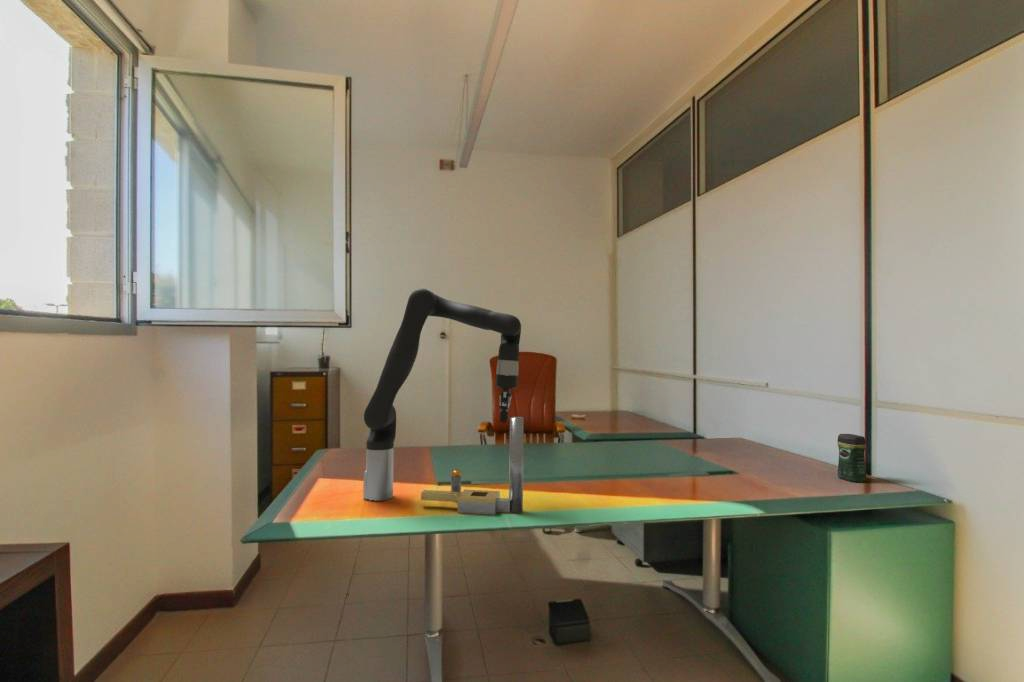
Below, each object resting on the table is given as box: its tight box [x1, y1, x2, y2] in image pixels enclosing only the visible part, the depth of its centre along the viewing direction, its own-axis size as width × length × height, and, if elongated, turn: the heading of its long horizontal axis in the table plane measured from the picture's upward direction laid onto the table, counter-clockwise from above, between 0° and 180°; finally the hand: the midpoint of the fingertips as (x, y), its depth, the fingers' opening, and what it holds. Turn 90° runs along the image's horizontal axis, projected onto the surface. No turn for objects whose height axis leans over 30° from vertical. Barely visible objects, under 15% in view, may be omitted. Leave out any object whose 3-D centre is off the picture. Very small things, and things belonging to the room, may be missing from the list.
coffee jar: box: [837, 433, 868, 483], centre depth 207 cm, size 10×8×19 cm
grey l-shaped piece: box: [420, 416, 524, 516], centre depth 164 cm, size 33×9×30 cm, turn 82°
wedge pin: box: [450, 469, 462, 492], centre depth 174 cm, size 4×4×10 cm
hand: (503, 421), depth 172 cm, fingers open, 8 cm apart
